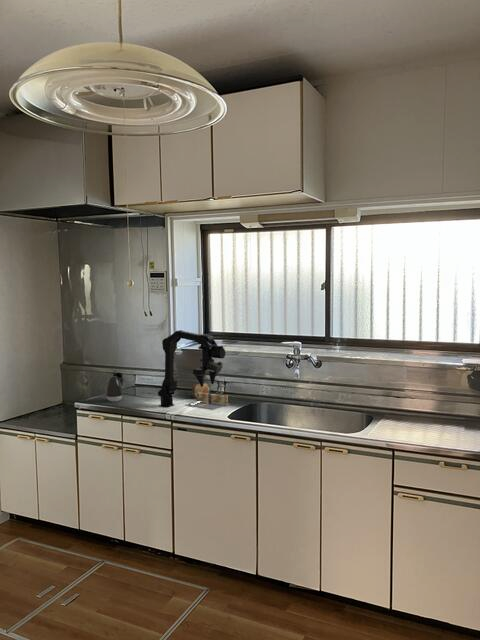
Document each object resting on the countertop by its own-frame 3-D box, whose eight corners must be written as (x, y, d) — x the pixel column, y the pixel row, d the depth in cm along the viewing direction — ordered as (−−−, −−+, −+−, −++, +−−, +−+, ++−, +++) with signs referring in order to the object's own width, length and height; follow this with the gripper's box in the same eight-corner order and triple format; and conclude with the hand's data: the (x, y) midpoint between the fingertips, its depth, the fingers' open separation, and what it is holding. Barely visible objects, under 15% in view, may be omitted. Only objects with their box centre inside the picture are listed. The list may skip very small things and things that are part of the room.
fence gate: (210, 402, 323) (210, 394, 323) (212, 401, 324) (212, 393, 324) (226, 404, 317) (226, 396, 316) (228, 403, 318) (228, 395, 318)
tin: (194, 399, 336) (194, 385, 336) (190, 398, 338) (190, 385, 338) (210, 395, 348) (210, 382, 348) (206, 394, 350) (206, 381, 350)
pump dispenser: (121, 402, 329) (120, 377, 328) (103, 402, 329) (103, 377, 328) (125, 399, 339) (124, 374, 338) (108, 399, 339) (107, 374, 338)
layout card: (185, 405, 319) (185, 404, 319) (202, 400, 333) (202, 399, 333) (213, 409, 308) (213, 408, 308) (229, 404, 322) (229, 403, 322)
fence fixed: (196, 401, 329) (196, 392, 328) (198, 400, 330) (198, 391, 330) (210, 403, 323) (210, 394, 323) (212, 402, 325) (212, 393, 324)
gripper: (208, 360, 291) (208, 389, 292) (228, 356, 307) (229, 384, 308) (191, 359, 298) (192, 387, 299) (212, 355, 313) (213, 382, 314)
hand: (207, 385), depth 305 cm, fingers open, 9 cm apart
